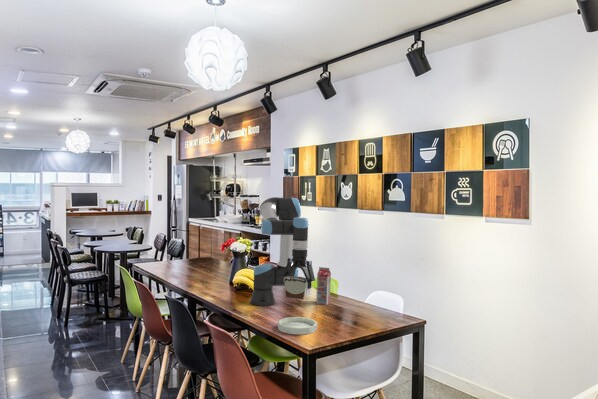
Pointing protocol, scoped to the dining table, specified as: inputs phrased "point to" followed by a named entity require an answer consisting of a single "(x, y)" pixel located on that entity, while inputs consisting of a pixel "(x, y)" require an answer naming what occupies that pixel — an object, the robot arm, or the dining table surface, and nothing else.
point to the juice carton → (323, 286)
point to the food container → (295, 287)
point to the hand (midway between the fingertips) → (298, 293)
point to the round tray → (297, 325)
